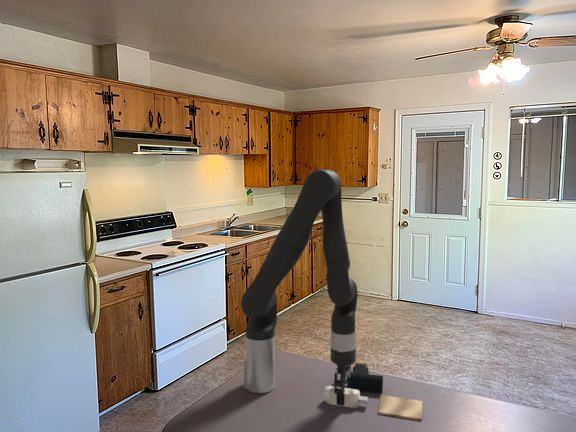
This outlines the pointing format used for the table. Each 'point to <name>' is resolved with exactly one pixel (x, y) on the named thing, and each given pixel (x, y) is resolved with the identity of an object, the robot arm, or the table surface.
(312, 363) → the table surface
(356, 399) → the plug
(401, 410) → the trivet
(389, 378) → the table surface
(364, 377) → the pipe connector
